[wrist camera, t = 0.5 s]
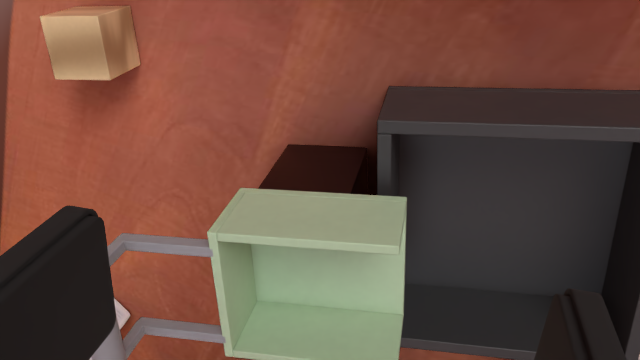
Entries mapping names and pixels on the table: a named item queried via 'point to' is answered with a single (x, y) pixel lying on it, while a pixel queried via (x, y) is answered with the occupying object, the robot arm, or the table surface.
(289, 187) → the scoop stand
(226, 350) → the scoop box
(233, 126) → the table surface
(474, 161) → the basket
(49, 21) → the block
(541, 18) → the table surface
